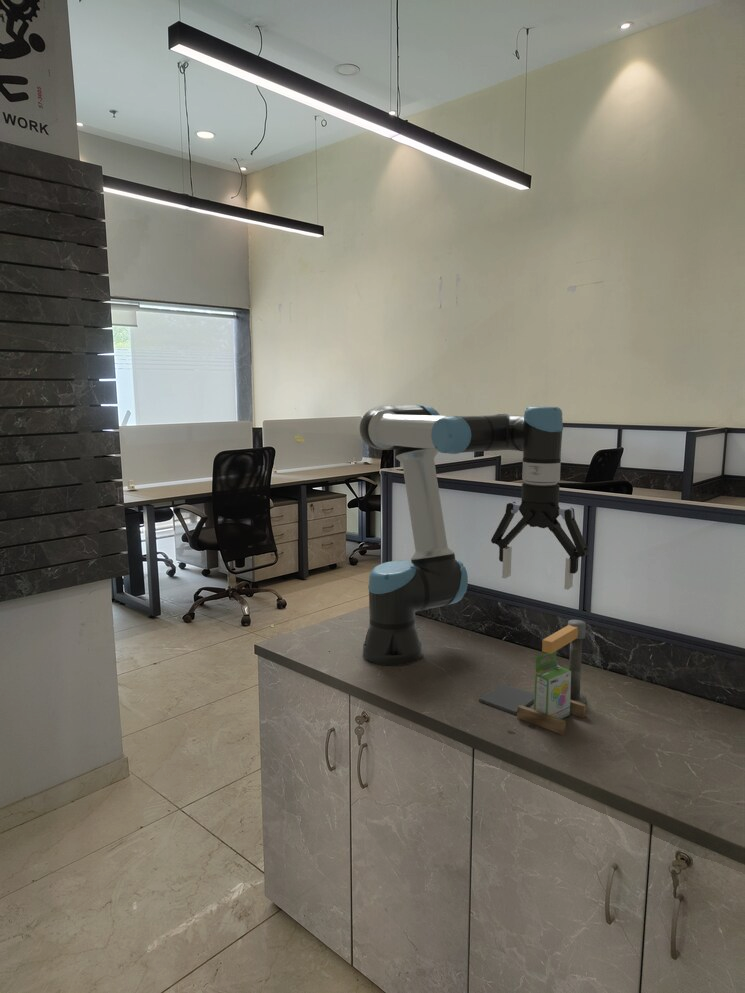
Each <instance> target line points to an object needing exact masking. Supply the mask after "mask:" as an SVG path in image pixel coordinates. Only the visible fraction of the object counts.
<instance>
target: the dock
mask: <svg viewBox="0 0 745 993" xmlns="http://www.w3.org/2000/svg"><path fill="white" fill-rule="evenodd" d="M582 650H583V639H575V640H573V641H572V642H570V643H569V663H568V665H569V667H568V670H570V671H571V694H570V715H574V716H577V717H579V718H583V719H584V718H585V717H586V716H587V704H586V703H587V697H586V696H585V695H583V694H582V693H581V674H582V655H583V654H582ZM516 715H517V719H519V720H521V721H524V722H527V723H530V724H533V725H535V726H538V727H541V728H544V729H546V730H548V731H552V732H553V733H554V732H555V733H557V734H560V735H562V736H563V735H565V734H566V729H567V728H566V726H567V723H566V722H567V721H566V720H565V719H563V718H562V719H559V718H556V717H553V716H550V715H548V714H545V713H542V712H539V711H536V710H534V708H531V707H529V706H527V707H525V706H522V705H519V706H518V713H517V714H516Z"/></svg>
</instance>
